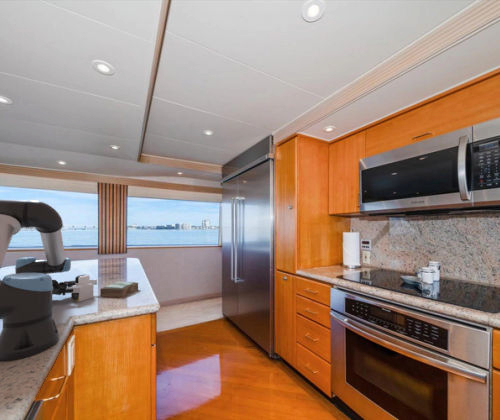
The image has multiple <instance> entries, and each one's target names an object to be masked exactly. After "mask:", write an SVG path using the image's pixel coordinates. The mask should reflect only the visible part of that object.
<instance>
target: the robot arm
mask: <svg viewBox="0 0 500 420" xmlns="http://www.w3.org/2000/svg"><path fill="white" fill-rule="evenodd" d="M63 226H64V225H63V219H62V216H61V215H60V213H59V212H58V211H57V210H56V209H55V208H54V207H52V205H49V204H48V203H45V202H43V201H39V200H33V199H31V200H24V199H23V200H21V199H20V200H19V199H16V200H14V199H0V269H1V267H2V265H3V262H4V259H5V257H6V254H7V251H8V249H9V246H10V244H11V241H12V238H13V236H15V235H17V234H18V233H19V232H20V230H21V228H23V229H24V228H35V229H36V231H37V232H39V233H40V234H39V235H40V238H41V242H42V247H43V251H44V255H45V259H37V257H35V256H25V257H19V258H17V259H16V260H15V267H14V269H15V273H11V274H6V275H5V276H3V278H2V279H1V278H0V320H2V329H1V332H0V362H6V361H15V360H19V359H20V360H21V359H24V358H28V357H30V356H33V355H37V354H40V353H41V352H43V351H45V350H47V349H49V348H51V347H53V346H54V345H56V344H57V343H58V341H59V339H60V332H59V330H58V328H57V325H56V323H55V320H54V318H53V295H56V296H61V295H62V296H66V294H71V293H81V287H71V286H73V285H76V284H75V279H74V280H68V281H67V280H65V281H60V282H58V281H57V280H56V279H52V276H51V275H49V274H59V273H64V272H65V273H66V272H69V271H71V267H72V259H71V257H66V255H65V254H66V253H65V248H64V241H63V235H62V228H63ZM89 283H91V284H93V286H96V285H98V279H90V282H89Z"/></svg>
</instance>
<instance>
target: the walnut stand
mask: <svg viewBox="0 0 500 420" xmlns="http://www.w3.org/2000/svg"><path fill="white" fill-rule="evenodd" d="M138 290H139V283H138V282H136V281H135V282H134V281H116V282H114V283H111V284H108V285H105V286H103V287H101V288H100V297H109V298H111V297H112V298H123V297H125V295H126V296H127V295H129V294H131V293H134V292H136V291H138Z"/></svg>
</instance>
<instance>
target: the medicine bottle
mask: <svg viewBox="0 0 500 420" xmlns="http://www.w3.org/2000/svg"><path fill="white" fill-rule="evenodd" d="M74 280H75V284H76V285H73V286H71V287H81V293H70V295H71V300H72V301H75V302H83V301H86V300H89V299H90V300H91V299H93V298H94V285H93V284H91V283H89V282H90V280H91V278H90V274H81V275H80V274H79V275H77V276H75V279H74Z"/></svg>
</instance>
